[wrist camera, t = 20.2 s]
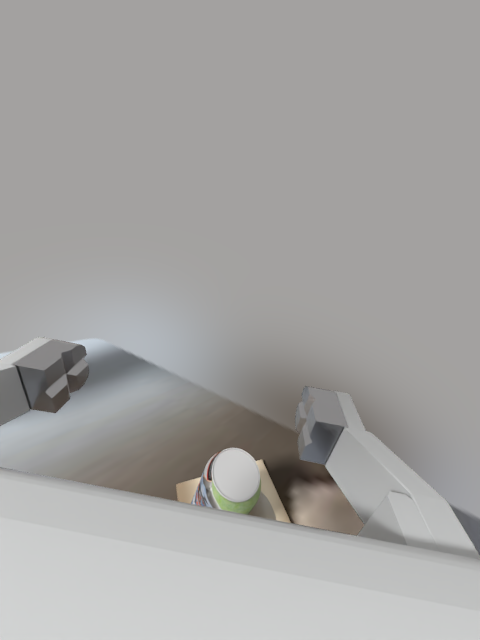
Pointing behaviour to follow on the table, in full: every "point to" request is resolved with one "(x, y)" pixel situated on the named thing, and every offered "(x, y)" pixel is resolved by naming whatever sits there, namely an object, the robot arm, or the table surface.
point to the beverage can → (229, 482)
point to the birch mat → (264, 507)
